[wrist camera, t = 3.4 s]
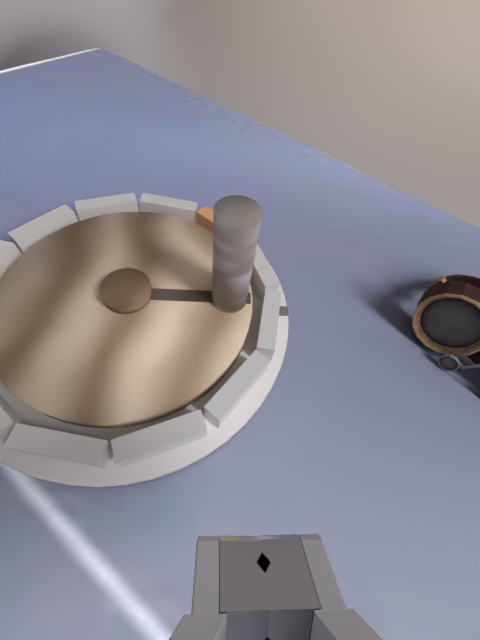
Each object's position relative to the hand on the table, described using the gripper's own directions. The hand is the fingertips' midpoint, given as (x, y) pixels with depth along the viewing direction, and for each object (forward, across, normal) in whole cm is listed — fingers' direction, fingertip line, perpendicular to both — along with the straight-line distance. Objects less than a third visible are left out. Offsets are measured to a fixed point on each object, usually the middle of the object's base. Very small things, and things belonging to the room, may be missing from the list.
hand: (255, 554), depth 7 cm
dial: (+21, +9, -2) cm, 23 cm away
